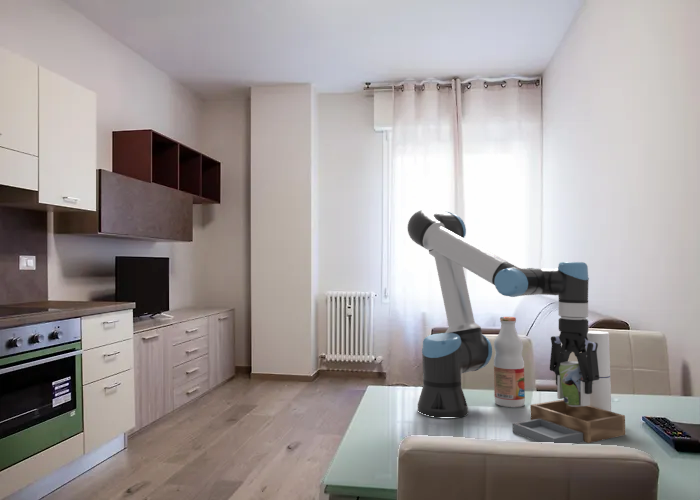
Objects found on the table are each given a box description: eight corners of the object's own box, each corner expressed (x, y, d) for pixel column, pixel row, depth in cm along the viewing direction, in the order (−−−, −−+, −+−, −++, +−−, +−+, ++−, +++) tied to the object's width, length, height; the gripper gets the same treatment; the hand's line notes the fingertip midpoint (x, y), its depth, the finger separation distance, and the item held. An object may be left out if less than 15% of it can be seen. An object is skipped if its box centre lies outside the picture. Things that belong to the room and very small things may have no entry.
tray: (512, 431, 134) (512, 423, 134) (540, 426, 138) (540, 418, 138) (554, 448, 121) (554, 438, 122) (583, 442, 126) (583, 432, 126)
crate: (530, 422, 142) (530, 404, 142) (566, 416, 148) (565, 399, 148) (588, 443, 125) (587, 422, 125) (625, 434, 131) (624, 415, 131)
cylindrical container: (610, 423, 140) (607, 334, 142) (582, 420, 144) (580, 332, 145) (612, 417, 147) (610, 331, 148) (585, 414, 150) (583, 330, 151)
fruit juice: (492, 399, 167) (490, 315, 169) (521, 400, 166) (519, 316, 168) (497, 407, 158) (495, 318, 159) (528, 408, 157) (526, 318, 158)
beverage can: (590, 409, 134) (590, 364, 134) (561, 407, 135) (561, 363, 135) (584, 403, 140) (584, 360, 140) (556, 401, 141) (556, 358, 141)
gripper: (615, 321, 131) (615, 409, 130) (554, 313, 149) (554, 391, 148) (595, 322, 127) (595, 413, 127) (535, 314, 145) (535, 394, 145)
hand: (573, 401), depth 137 cm, fingers closed on beverage can, 7 cm apart
